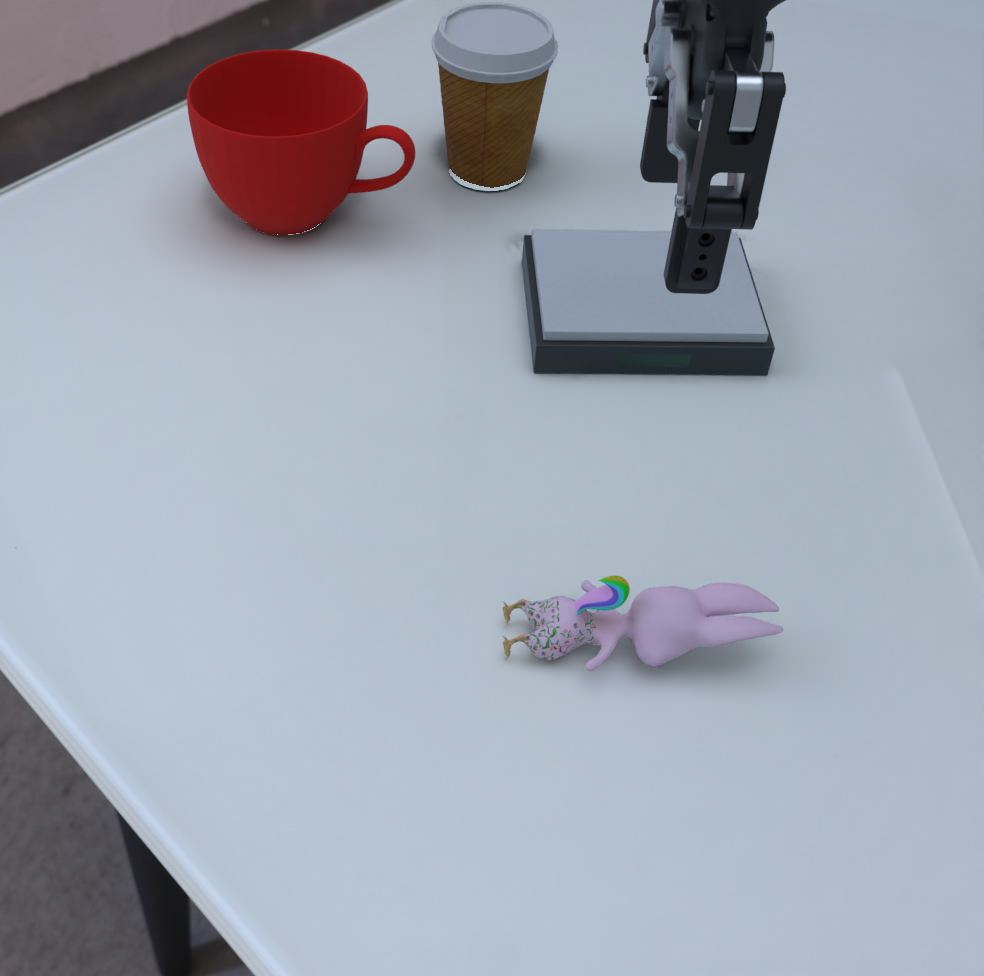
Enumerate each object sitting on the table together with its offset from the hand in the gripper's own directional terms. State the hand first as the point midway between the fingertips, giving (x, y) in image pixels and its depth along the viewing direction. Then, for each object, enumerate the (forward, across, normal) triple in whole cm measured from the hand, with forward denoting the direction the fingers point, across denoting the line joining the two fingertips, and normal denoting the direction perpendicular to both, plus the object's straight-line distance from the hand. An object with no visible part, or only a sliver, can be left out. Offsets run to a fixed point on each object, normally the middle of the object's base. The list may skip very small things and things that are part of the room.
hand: (675, 230), depth 57 cm
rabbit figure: (+25, -3, -1) cm, 25 cm away
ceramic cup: (+25, +38, +19) cm, 50 cm away
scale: (+24, +27, -5) cm, 37 cm away
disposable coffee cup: (+25, +46, +5) cm, 52 cm away
